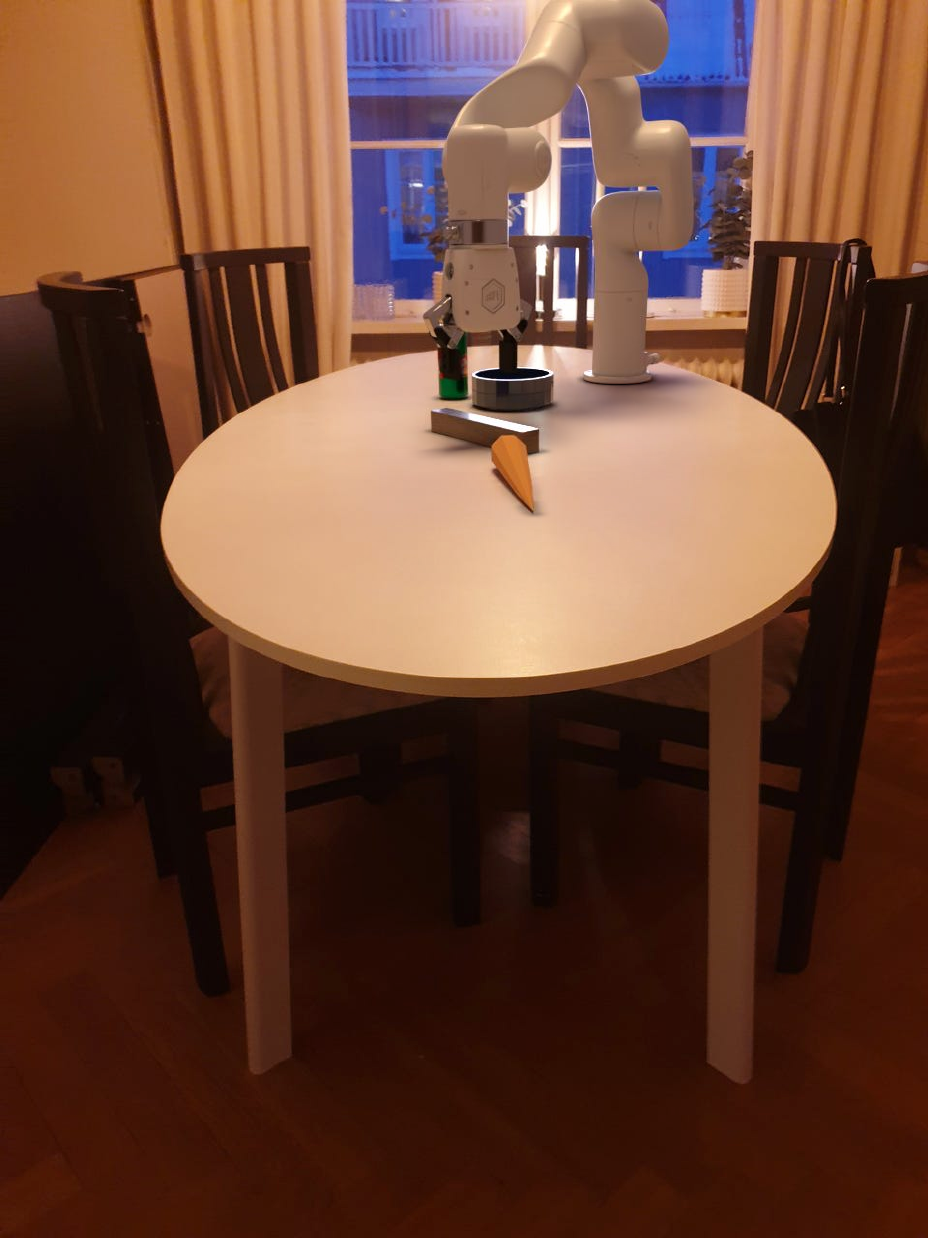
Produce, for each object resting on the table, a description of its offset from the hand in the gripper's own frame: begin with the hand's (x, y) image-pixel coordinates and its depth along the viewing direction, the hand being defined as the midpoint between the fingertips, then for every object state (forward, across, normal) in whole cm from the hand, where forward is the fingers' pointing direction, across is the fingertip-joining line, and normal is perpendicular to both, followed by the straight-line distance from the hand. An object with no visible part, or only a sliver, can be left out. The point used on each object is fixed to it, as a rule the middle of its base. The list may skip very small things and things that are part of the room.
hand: (480, 375), depth 120 cm
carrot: (+9, -12, -21) cm, 26 cm away
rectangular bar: (+9, 0, 0) cm, 9 cm away
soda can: (+9, +17, +29) cm, 35 cm away
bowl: (+9, +20, +17) cm, 28 cm away
